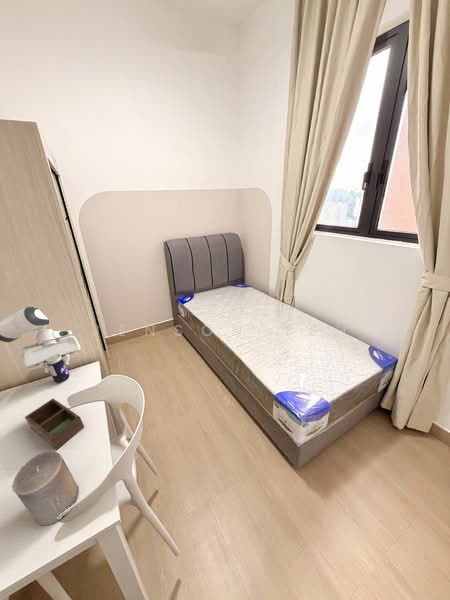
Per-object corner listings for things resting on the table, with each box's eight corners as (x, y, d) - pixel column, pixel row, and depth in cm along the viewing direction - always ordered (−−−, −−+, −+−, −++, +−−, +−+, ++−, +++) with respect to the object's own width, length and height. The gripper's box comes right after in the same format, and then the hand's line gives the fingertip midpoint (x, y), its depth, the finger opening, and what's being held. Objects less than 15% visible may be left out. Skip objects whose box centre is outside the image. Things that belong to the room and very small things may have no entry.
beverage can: (67, 383, 102) (57, 360, 97) (52, 385, 101) (42, 363, 96) (72, 374, 107) (63, 352, 102) (58, 376, 106) (48, 354, 101)
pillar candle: (69, 474, 68) (50, 439, 61) (86, 496, 62) (67, 461, 56) (29, 509, 60) (3, 473, 54) (44, 537, 55) (17, 501, 49)
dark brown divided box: (30, 427, 83) (24, 417, 81) (57, 408, 90) (53, 398, 88) (56, 450, 74) (51, 439, 72) (84, 427, 82) (80, 416, 79)
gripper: (17, 346, 96) (25, 378, 93) (74, 329, 106) (83, 357, 103) (22, 350, 101) (30, 380, 98) (76, 333, 112) (85, 360, 108)
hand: (57, 368), depth 101 cm, fingers closed on beverage can, 5 cm apart
